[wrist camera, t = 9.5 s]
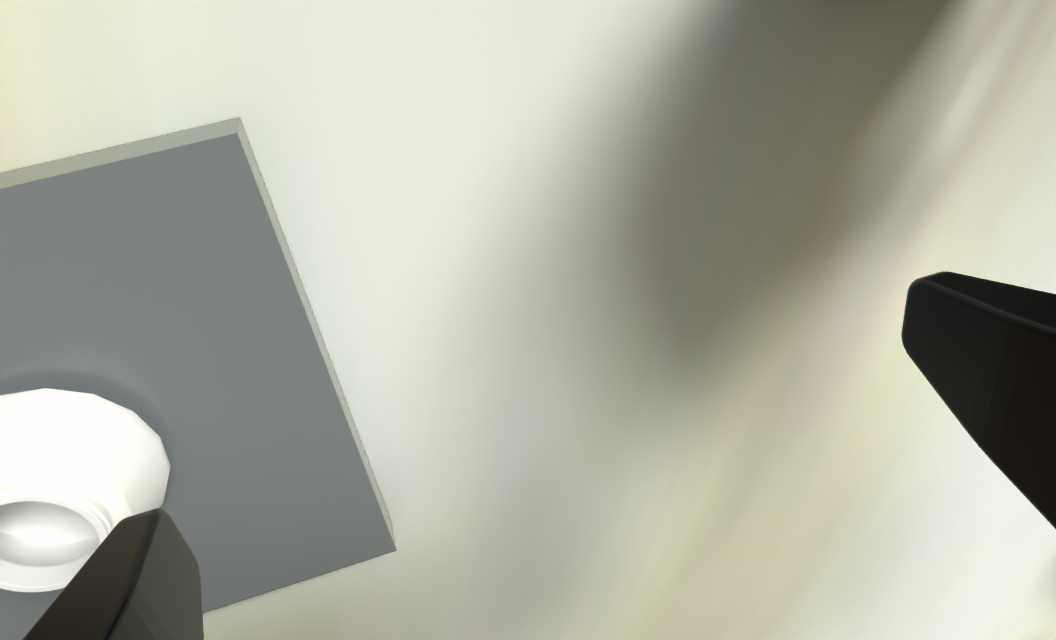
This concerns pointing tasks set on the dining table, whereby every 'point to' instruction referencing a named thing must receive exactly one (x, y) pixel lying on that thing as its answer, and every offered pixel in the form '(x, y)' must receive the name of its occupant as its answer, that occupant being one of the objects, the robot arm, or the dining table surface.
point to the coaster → (189, 353)
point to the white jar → (69, 481)
